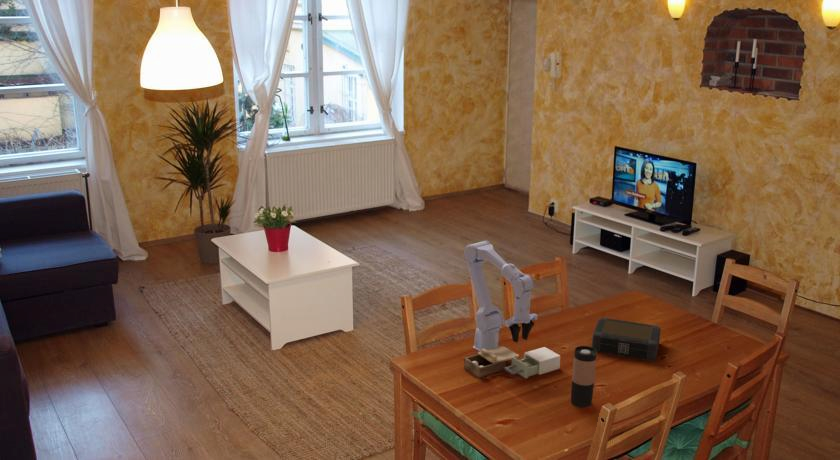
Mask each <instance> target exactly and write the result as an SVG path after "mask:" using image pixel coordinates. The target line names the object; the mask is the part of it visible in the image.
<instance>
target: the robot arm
mask: <svg viewBox="0 0 840 460" xmlns="http://www.w3.org/2000/svg"><path fill="white" fill-rule="evenodd" d="M463 254H464V258H465V262H466V268H467V270H468V275H469V277H470V282H471V284H472V288H473V292H474V294H475V297H476V298H475V299H476V301H477V306H478V307H479V309H478V310H477V311H476V313H475V318H476V326H477V327H476V329H475V332H474V345H473V346H472V348H473V349H475V350H477V352H481V349H483V348H484V349H486V350H488V349H492V348H495V347H499V332H500V330H501V327H502V326H503V324H504V327H507V328H509V332H510V334H511V338H512V341H513V342H515V343H518V342H519V335H520V333H521V338H522V339H523V340H525V341H527V340H528V338H529V334H530V332H531V330H532V329H533V327H535V322H534V321H537V320H538V315H539V314H536V313H530V312H531V311H530V310H531V309H530V308H531V294H532V290H533V289H534V288H535V283H536V282H535V279H534V278H533V277H532V276H531V275H530V274H526V273H523V272H522V271H521V270H520V269H518V267H516V265H515V264H513V263H507V262H506V261H505V260H504V259H503V258H502V257H501V256H500V255H499V254H498V253H497V251H495V249H494V245H493V244H491V243H490V241H489V240H483V241H479V242H476V243H472V244H470V243H469V244H467V245H466V246H465V248H464V251H463ZM486 261H488V262H489V263H491V264H492V265H493V266H495V267H496V268H497V269H499V270H500V273H501V274H500V275H501V276H502V277H503V278H504V279H506V280H507V281H508V282H509V283H510V284H511V286H512V289H513V295H514V306H513V307H514V308H513V316H512V317H510V318H508V319H506V320H504V317H503V314H501V311H500V309H499V307H498V306H496V305H494V304H493V300H492V297H491V294H490V290H489V288H488V284H487V281H486V278H485V274H484V271H483V264H484V262H486ZM519 324H521V326H519ZM520 331H521V332H520Z"/></svg>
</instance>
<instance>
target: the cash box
mask: <svg viewBox="0 0 840 460" xmlns="http://www.w3.org/2000/svg"><path fill="white" fill-rule="evenodd" d="M661 331H662V329H661V327H660V326H658V325H655V324H654V325H653V324H646V323H640V322H634V321H626V320H621V319H615V318H608V317H607V318H606V317H600V318H598V320H597V323H596V326H595V328H594V330H593V334H592V340H591V341H592V343H591V347H592V348H594V349H595V350H596V351H597V353H601V354H605V355H606V354H607V355H612V356H619V357H626V358H630V359H636V360H643V361H649V362H655V361H657V355H658V352H659V345H660V339H661Z"/></svg>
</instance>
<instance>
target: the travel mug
mask: <svg viewBox="0 0 840 460" xmlns="http://www.w3.org/2000/svg"><path fill="white" fill-rule="evenodd" d="M597 354H598V352H597V351H596V350H595V349H594V348H592V346H587V345H580V346H579V345H578V346H576V347H575V349H574V354H573V365H572V376H571V390H570V391H571V393H570V403H571V404H572V405H573V406H575V407H577V408H581V409H583V408H589V407H591V405H592V403H593V396H594V395H593V394H594V388H595V380H596V379H595V377H596V368H597V367H596V366H597Z"/></svg>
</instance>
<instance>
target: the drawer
mask: <svg viewBox="0 0 840 460" xmlns="http://www.w3.org/2000/svg"><path fill="white" fill-rule="evenodd" d="M524 362H528V363H529V364H531V365H532V366H531V367H529V366H528V365H527V364H525V363H524ZM503 371H506V372H507V373H509V374H511V375H512V376H513V375H516V374H517V375H520V376H522V377H523V378H524V379H528V378H529V377H531V376H534V375H539V374H538V372H539V362H537V361H536V360H534V359H532V358H530V357H528V358H524V357H523V358H522V359H518V357H517V358H515V357H512V359H511V365H509V366H506V367H504V370H503Z"/></svg>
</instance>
